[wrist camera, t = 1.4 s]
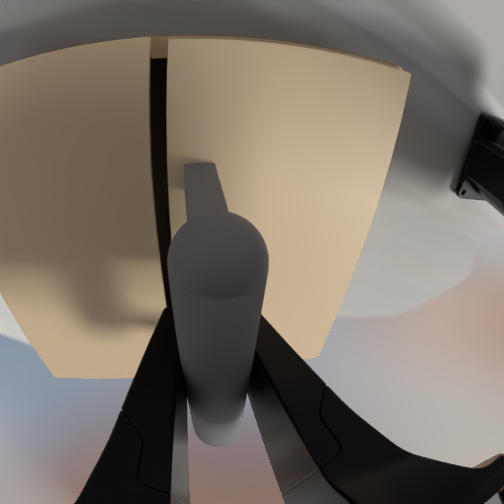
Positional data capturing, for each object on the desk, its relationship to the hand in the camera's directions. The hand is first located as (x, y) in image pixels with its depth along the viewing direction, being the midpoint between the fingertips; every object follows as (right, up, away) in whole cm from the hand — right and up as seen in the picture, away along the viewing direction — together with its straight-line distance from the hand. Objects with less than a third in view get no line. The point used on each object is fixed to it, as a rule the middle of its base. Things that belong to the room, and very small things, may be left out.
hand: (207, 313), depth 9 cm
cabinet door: (+2, +2, +3) cm, 4 cm away
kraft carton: (-3, +5, +6) cm, 8 cm away
